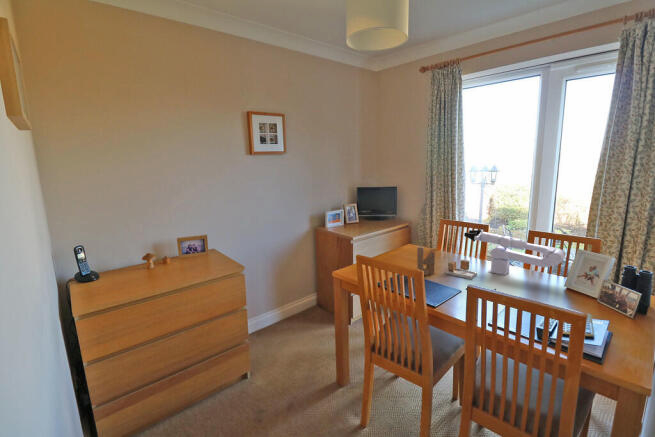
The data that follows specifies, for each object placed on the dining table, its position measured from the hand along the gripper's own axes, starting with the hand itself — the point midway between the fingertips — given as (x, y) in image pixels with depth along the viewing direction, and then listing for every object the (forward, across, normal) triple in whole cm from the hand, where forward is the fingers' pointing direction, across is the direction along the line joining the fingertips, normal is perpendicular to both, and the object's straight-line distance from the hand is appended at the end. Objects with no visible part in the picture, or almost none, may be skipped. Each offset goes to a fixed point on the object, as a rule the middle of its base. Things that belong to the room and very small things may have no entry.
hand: (466, 233), depth 197 cm
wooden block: (+11, +30, +23) cm, 39 cm away
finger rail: (-6, +17, +21) cm, 28 cm away
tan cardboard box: (-4, +7, +22) cm, 23 cm away
